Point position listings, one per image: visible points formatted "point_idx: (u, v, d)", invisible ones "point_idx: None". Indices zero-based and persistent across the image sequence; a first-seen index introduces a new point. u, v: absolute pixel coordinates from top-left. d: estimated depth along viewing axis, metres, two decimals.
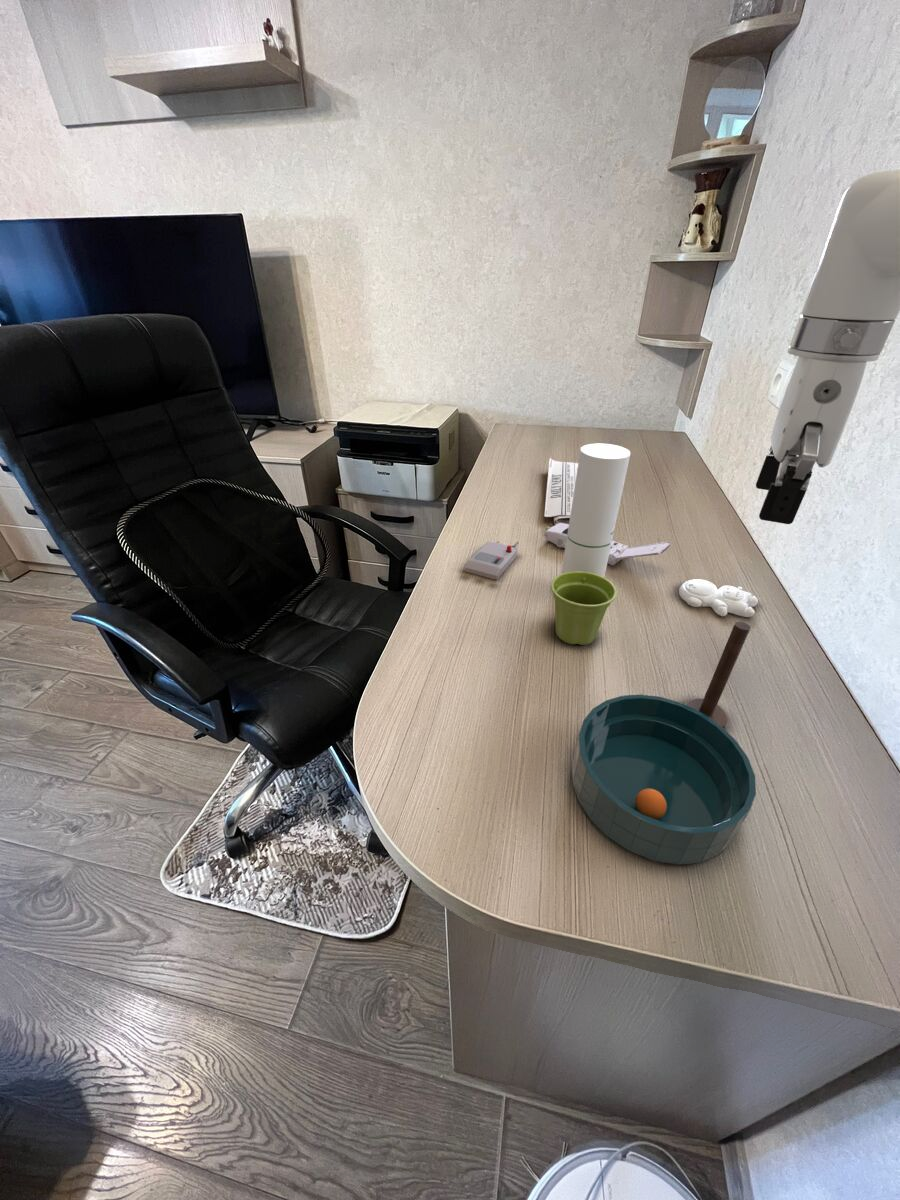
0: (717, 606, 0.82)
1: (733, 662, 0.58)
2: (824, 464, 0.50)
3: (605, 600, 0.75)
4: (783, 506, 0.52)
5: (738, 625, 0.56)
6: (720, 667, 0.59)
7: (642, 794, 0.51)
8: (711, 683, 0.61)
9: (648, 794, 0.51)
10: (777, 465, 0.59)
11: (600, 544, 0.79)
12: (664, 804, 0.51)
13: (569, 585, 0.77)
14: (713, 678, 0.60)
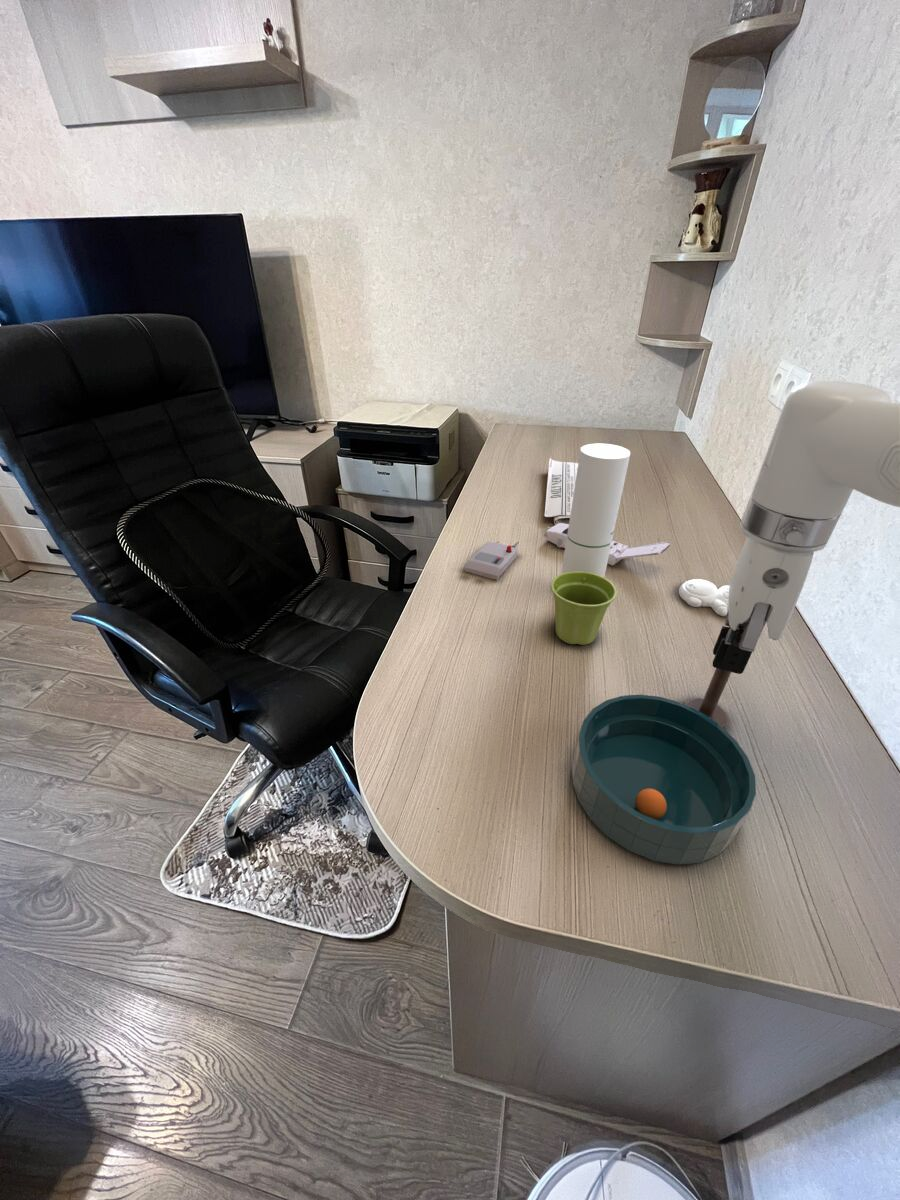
0: (717, 606, 0.82)
1: None
2: (775, 639, 0.50)
3: (605, 600, 0.75)
4: (733, 660, 0.56)
5: None
6: None
7: (642, 794, 0.51)
8: (711, 683, 0.61)
9: (648, 794, 0.51)
10: None
11: (600, 544, 0.79)
12: (664, 804, 0.51)
13: (568, 585, 0.77)
14: (713, 678, 0.60)
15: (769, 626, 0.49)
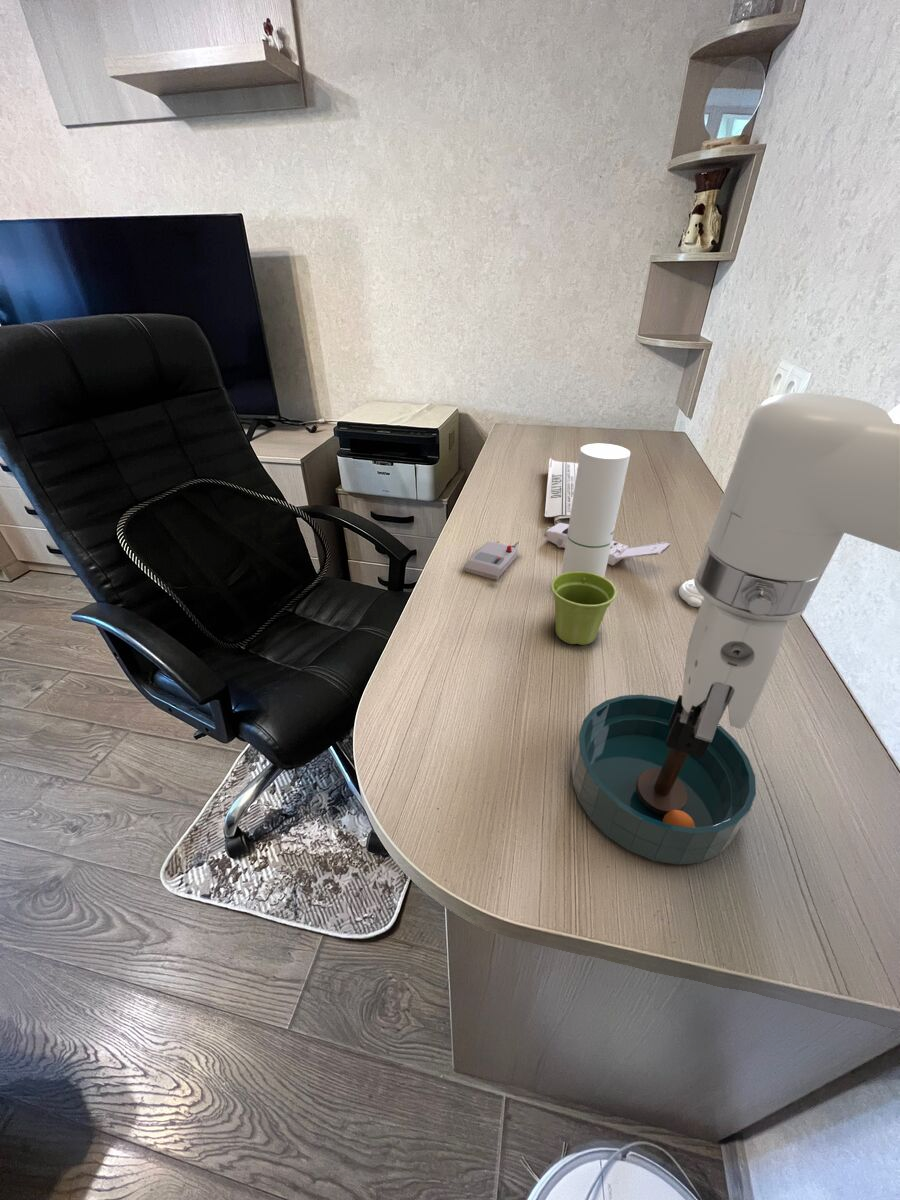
0: None
1: None
2: (739, 727, 0.39)
3: (605, 600, 0.75)
4: (690, 742, 0.44)
5: None
6: None
7: None
8: (666, 760, 0.50)
9: None
10: None
11: (600, 544, 0.79)
12: None
13: (568, 585, 0.77)
14: (668, 754, 0.49)
15: (730, 712, 0.38)
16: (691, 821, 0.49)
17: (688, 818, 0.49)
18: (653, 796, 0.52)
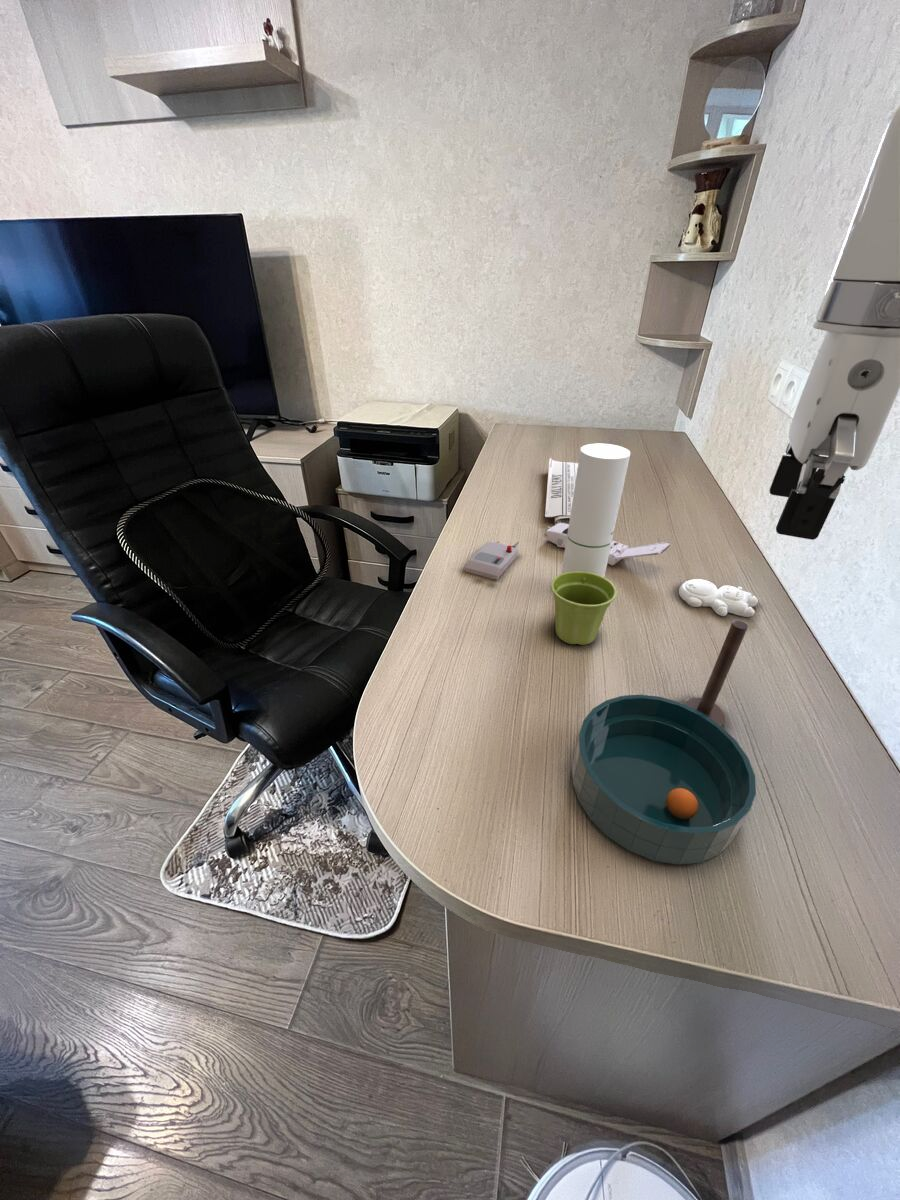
0: (717, 606, 0.82)
1: (730, 661, 0.58)
2: (859, 466, 0.40)
3: (605, 600, 0.75)
4: (807, 518, 0.42)
5: (736, 624, 0.56)
6: (717, 666, 0.59)
7: None
8: (709, 682, 0.61)
9: (668, 795, 0.52)
10: (796, 467, 0.50)
11: (600, 544, 0.79)
12: (676, 808, 0.51)
13: (568, 585, 0.77)
14: (711, 677, 0.61)
15: None
16: None
17: None
18: None
